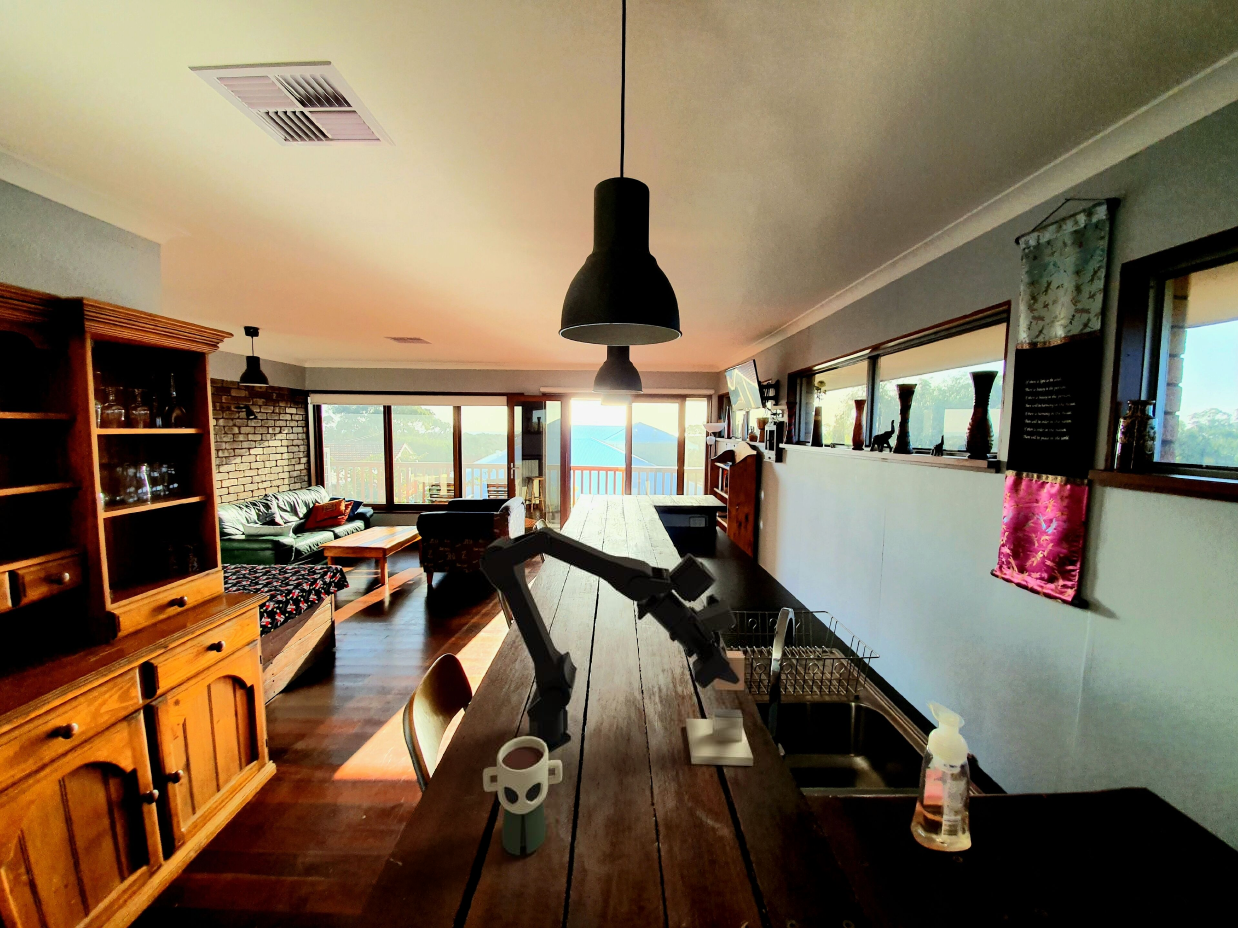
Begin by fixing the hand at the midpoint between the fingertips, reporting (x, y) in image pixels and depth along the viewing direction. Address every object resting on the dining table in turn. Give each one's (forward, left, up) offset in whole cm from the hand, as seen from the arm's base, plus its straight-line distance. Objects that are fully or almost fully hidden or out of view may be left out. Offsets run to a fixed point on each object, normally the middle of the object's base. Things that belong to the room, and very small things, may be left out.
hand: (736, 677), depth 83 cm
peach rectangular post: (-1, +1, -2) cm, 2 cm away
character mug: (-38, +9, -13) cm, 42 cm away
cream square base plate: (-2, +2, -13) cm, 13 cm away
